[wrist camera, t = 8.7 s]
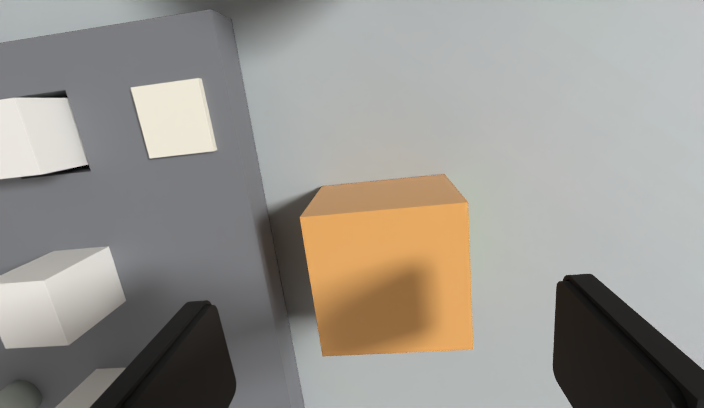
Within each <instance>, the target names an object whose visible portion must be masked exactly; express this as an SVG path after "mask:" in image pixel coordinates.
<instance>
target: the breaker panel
mask: <svg viewBox="0 0 704 408" xmlns="http://www.w3.org/2000/svg"><path fill="white" fill-rule="evenodd" d="M62 96H67V97H68V100H69V103H70V106H71V110H72V113H73V116H74V119H75V122H76V125H77V129H78V132H79V135H80V138H81V141H82V144H83V148H84V151H85V154H86V157H87V160H88V164H89V167H90V168H82V169H73V170H64V171H56V172H51V173H46V174H42V175H33V176H24V177H15V178H6V179H0V408H90V407H91V405H92V404H93V403H94V402H95V401H96V400H97V399H98V398H99V397H100V396H101V395H102V394H103V392H104V391H105V390H106V389H107V388H108V387H109V386H110V385H111V384H112V383H113V382H114V380H115V379H116V378H117V377H118V376H119V375H120V374H121V373H122V372H123V371H124V370H125V368H126V367H127V366H128V365H129V364H130V363H131V362H132V361H133V360H134V359H135V358H136V357H137V355H138V354H139V353H140V352H141V351H142V350H143V349H144V348H145V347H146V346H147V345H148V343H149V342H150V341H151V340H152V339H153V338H154V337H155V336H156V335H157V334H158V333H159V332H160V330H161V329H162V328H163V327H164V326H165V325H166V324H167V323H168V322H169V321H170V320H171V318H172V317H173V316H174V315H175V314H176V313H177V312H178V311H179V310H180V309H181V308H182V306H183V305H184V304H185V303H187V302H190V301H205V300H208V301H210V303H211V304H212V305H215V306H216V307H217V309H218V313H219V316H220V320H221V324H222V328H223V332H224V336H225V339H226V343H227V347H228V351H229V355H230V359H231V362H232V366H233V370H234V374H235V378H236V392H235V395H234V397H233V399H232V401H231V403H230V405H229V408H305V407H304V401H303V396H302V391H301V385H300V380H299V375H298V370H297V364H296V359H295V354H294V348H293V343H292V338H291V333H290V327H289V322H288V317H287V311H286V306H285V301H284V296H283V290H282V285H281V280H280V274H279V269H278V264H277V259H276V253H275V248H274V243H273V237H272V232H271V227H270V222H269V216H268V211H267V206H266V200H265V195H264V190H263V184H262V179H261V174H260V169H259V163H258V158H257V153H256V147H255V142H254V137H253V132H252V126H251V121H250V116H249V110H248V105H247V100H246V95H245V89H244V84H243V79H242V73H241V68H240V63H239V58H238V52H237V47H236V42H235V36H234V31H233V26H232V21H231V19H229V18H227V17H225V16H223V15H221V14H219V13H218V12H216V11H214V10H212V9H208V10H202V11H196V12H189V13H183V14H177V15H171V16H165V17H158V18H152V19H146V20H140V21H133V22H127V23H121V24H115V25H109V26H102V27H96V28H90V29H84V30H77V31H71V32H65V33H59V34H53V35H46V36H40V37H34V38H28V39H21V40H15V41H9V42H3V43H0V100H1V99H8V98H54V97H62Z"/></svg>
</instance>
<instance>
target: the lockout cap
mask: <svg viewBox="0 0 704 408" xmlns="http://www.w3.org/2000/svg"><path fill="white" fill-rule="evenodd" d="M300 222H301V228H302V234H303V241H304V247H305V253H306V259H307V265H308V271H309V277H310V283H311V289H312V295H313V301H314V307H315V313H316V319H317V325H318V331H319V337H320V343H321V349H322V356H341V355H363V354H385V353H407V352H429V351H451V350H473V328H472V299H471V271H470V243H469V214H468V201H467V200H466V199H465V198H464V197H463V196H462V194H461V193H460V192H459V191H458V190H457V188H456V187H455V186H454V185H453V184H452V182H451V181H450V180H449V179H448V178H447V176H446V175H445V174H441V175H431V176H421V177H411V178H401V179H391V180H380V181H370V182H360V183H350V184H340V185H330V186H322V187H321V188H320V190H319V191H318V192H317V194H316V195H315V197H314V198H313V199H312V201H311V202H310V204H309V205H308V206H307V208H306V209H305V211H304V212H303V213H302V215H301V216H300Z"/></svg>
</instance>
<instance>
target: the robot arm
mask: <svg viewBox="0 0 704 408" xmlns="http://www.w3.org/2000/svg"><path fill="white" fill-rule="evenodd" d="M553 372H554V375H555V378H556V381H557V382H558V384H559V386H560V387H561V389H562V391H563V392H564V394H565V396H566V397H567V399H568V400H569V402H570V404H571V405H572V407H573V408H704V370H703V369H702V368H701V367H699V366H698V365H697V364H696V363H695V362H694V361H692V360H691V359H690V358H689V357H688V356H687V355H685V354H684V353H683V352H682V351H681V350H680V349H678V348H677V347H676V346H675V345H674V344H673V343H671V342H670V341H669V340H668V339H667V338H666V337H664V336H663V335H662V334H661V333H660V332H659V331H657V330H656V329H655V328H654V327H653V326H652V325H650V324H649V323H648V322H647V321H646V320H645V319H643V318H642V317H641V316H640V315H639V314H638V313H636V312H635V311H634V310H633V309H632V308H631V307H629V306H628V305H627V304H626V303H625V302H624V301H622V300H621V299H620V298H619V297H618V296H617V295H616V294H614V293H613V292H612V291H611V290H610V289H609V288H607V287H606V286H605V285H604V284H603V283H602V282H600V281H599V280H598V279H597V278H596V277H595V276H593V275H592V274H579V275H566V276H565V277H564V279H563V281H559V282H558V283H557V288H556V309H555V330H554V352H553ZM235 392H236V378H235V374H234V370H233V366H232V362H231V359H230V355H229V351H228V347H227V343H226V339H225V336H224V332H223V328H222V324H221V320H220V316H219V313H218V309H217V307H216V306H215V305H212V304H211V303H210V301H208V300H205V301H190V302H187V303H185V304H184V305H183V306H182V308H181V309H180V310H179V311H178V312H177V313H176V314H175V315H174V316H173V317H172V318H171V320H170V321H169V322H168V323H167V324H166V325H165V326H164V327H163V328H162V329H161V330H160V332H159V333H158V334H157V335H156V336H155V337H154V338H153V339H152V340H151V341H150V342H149V343H148V345H147V346H146V347H145V348H144V349H143V350H142V351H141V352H140V353H139V354H138V355H137V357H136V358H135V359H134V360H133V361H132V362H131V363H130V364H129V365H128V366H127V367H126V368H125V370H124V371H123V372H122V373H121V374H120V375H119V376H118V377H117V378H116V379H115V380H114V382H113V383H112V384H111V385H110V386H109V387H108V388H107V389H106V390H105V391H104V392H103V394H102V395H101V396H100V397H99V398H98V399H97V400H96V401H95V402H94V403H93V404H92V405H91V407H90V408H229V405H230V403H231V401H232V399H233V397H234V395H235Z"/></svg>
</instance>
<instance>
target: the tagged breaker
mask: <svg viewBox="0 0 704 408" xmlns="http://www.w3.org/2000/svg"><path fill="white" fill-rule="evenodd" d="M83 165H88V160H87V157H86V154H85V151H84V148H83V144H82V141H81V138H80V135H79V132H78V129H77V125H76V122H75V119H74V116H73V113H72V110H71V106H70V103H69V100H68V98H8V99H1V100H0V179H6V178H15V177H24V176H33V175H42V174H46V173H51V172H56V171H60V170H65V169H70V168H74V167H79V166H83Z"/></svg>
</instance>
